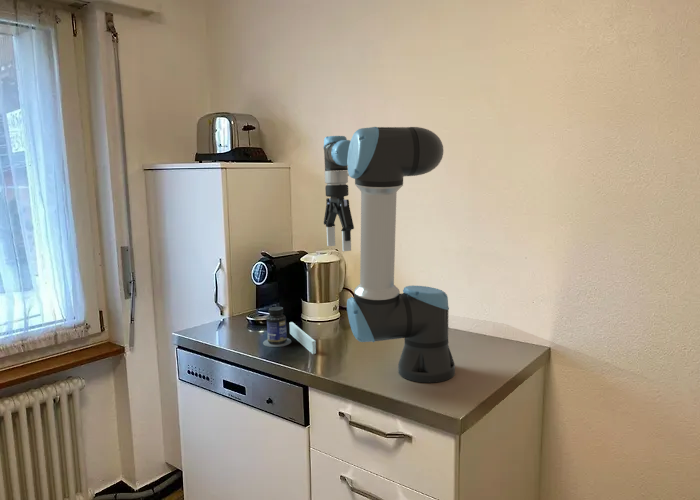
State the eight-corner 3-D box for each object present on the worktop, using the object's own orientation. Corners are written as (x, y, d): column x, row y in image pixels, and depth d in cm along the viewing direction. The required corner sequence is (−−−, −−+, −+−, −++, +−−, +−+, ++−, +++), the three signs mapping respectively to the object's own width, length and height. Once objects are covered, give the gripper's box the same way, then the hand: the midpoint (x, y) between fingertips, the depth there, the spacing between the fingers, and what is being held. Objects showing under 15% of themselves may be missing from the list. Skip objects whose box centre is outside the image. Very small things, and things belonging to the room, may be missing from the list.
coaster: (294, 344, 171) (294, 343, 171) (267, 348, 167) (267, 348, 167) (286, 336, 179) (286, 335, 179) (260, 340, 175) (259, 339, 175)
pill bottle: (283, 345, 169) (281, 311, 168) (265, 344, 171) (263, 310, 169) (289, 339, 175) (288, 306, 174) (271, 338, 177) (270, 305, 175)
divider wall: (315, 353, 162) (315, 341, 161) (312, 354, 161) (312, 341, 161) (292, 333, 182) (292, 322, 182) (289, 333, 182) (289, 322, 181)
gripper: (363, 184, 166) (364, 252, 169) (333, 183, 188) (335, 243, 192) (340, 185, 163) (343, 254, 166) (313, 184, 185) (315, 244, 189)
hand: (338, 248), depth 179 cm, fingers open, 13 cm apart
